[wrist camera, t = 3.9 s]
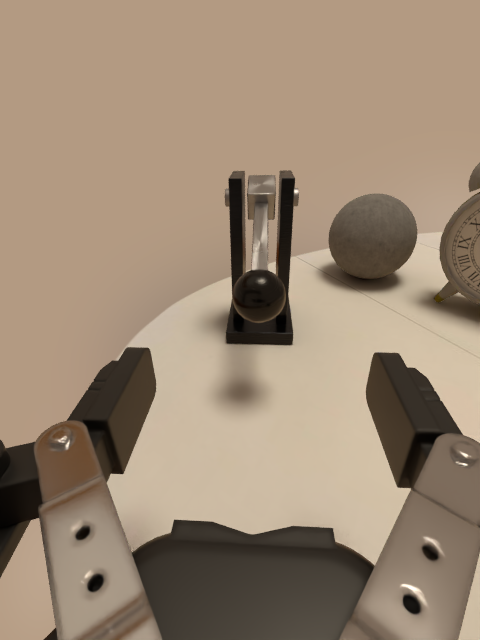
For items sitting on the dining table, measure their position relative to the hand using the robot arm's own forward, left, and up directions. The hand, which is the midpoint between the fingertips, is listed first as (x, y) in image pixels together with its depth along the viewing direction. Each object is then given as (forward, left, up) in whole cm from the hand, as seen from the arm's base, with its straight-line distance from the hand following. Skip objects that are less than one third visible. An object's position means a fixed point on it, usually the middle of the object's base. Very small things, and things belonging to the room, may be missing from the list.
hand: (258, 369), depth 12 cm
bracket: (+13, +15, -10) cm, 22 cm away
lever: (+10, +12, -1) cm, 15 cm away
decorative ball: (+31, +16, -10) cm, 36 cm away
